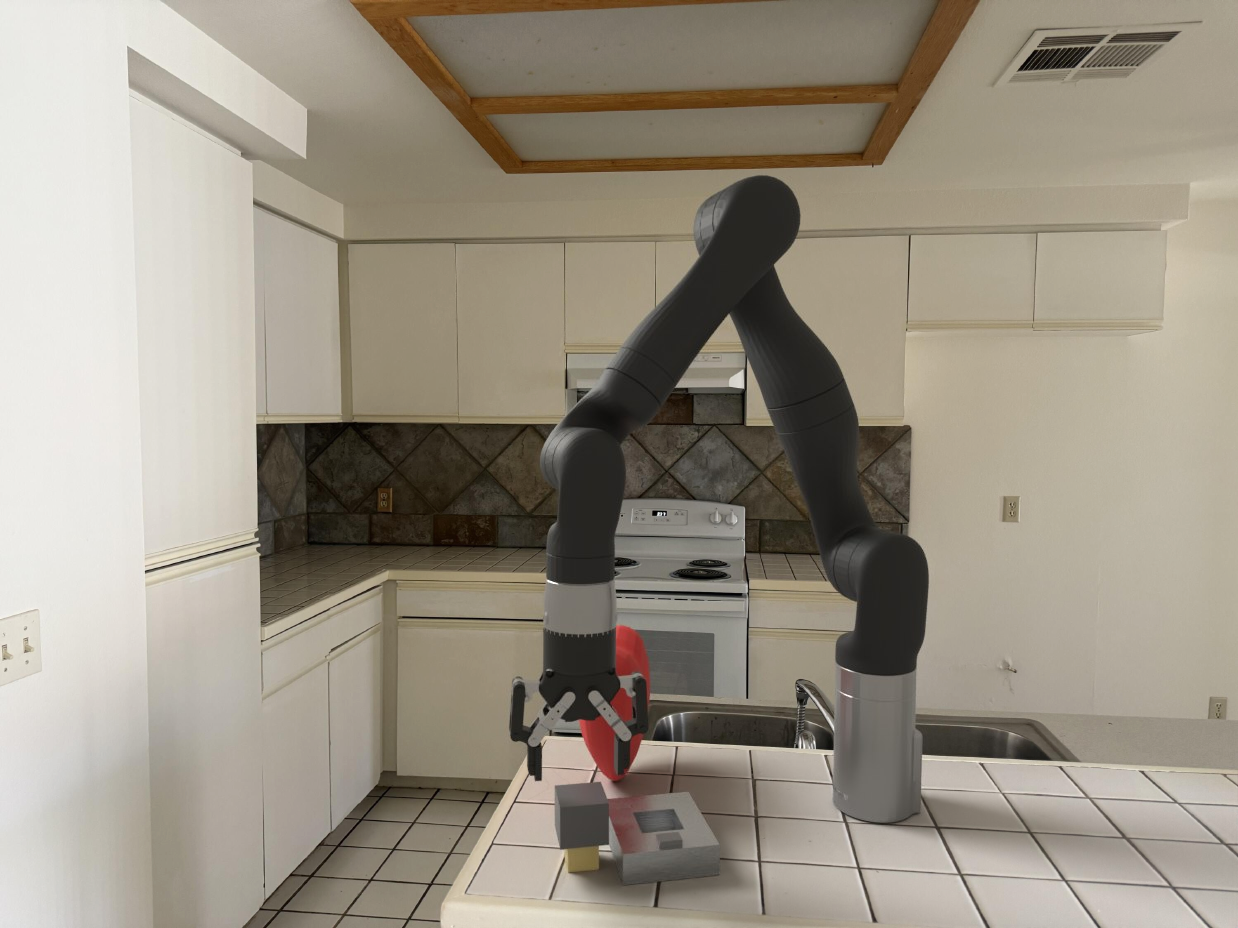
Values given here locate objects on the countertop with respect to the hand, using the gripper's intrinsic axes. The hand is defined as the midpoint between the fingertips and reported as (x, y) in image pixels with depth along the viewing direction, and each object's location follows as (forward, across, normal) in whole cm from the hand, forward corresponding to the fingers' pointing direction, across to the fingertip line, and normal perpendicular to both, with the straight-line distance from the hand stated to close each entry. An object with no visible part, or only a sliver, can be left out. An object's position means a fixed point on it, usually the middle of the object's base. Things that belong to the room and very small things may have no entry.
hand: (578, 775), depth 88 cm
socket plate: (+9, -9, -1) cm, 13 cm away
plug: (+9, 0, 0) cm, 9 cm away
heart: (+10, -7, -18) cm, 22 cm away
